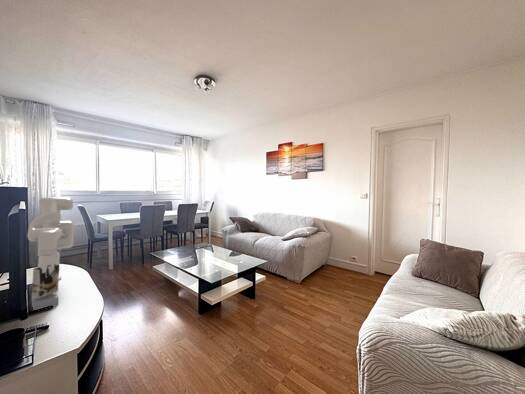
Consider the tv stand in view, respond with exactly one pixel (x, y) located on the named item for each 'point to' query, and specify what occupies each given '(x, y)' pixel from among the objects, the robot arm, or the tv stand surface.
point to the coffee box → (38, 282)
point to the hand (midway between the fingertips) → (46, 281)
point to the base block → (45, 301)
